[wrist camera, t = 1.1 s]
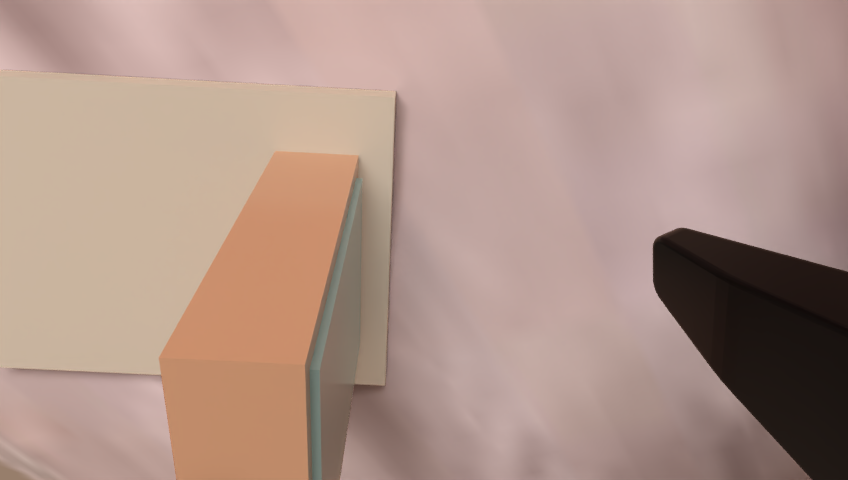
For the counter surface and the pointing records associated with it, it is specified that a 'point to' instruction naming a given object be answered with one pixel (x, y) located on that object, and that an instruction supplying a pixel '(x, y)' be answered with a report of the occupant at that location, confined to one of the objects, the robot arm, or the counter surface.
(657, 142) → the counter surface
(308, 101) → the mat
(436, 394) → the counter surface
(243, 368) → the block
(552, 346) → the counter surface
